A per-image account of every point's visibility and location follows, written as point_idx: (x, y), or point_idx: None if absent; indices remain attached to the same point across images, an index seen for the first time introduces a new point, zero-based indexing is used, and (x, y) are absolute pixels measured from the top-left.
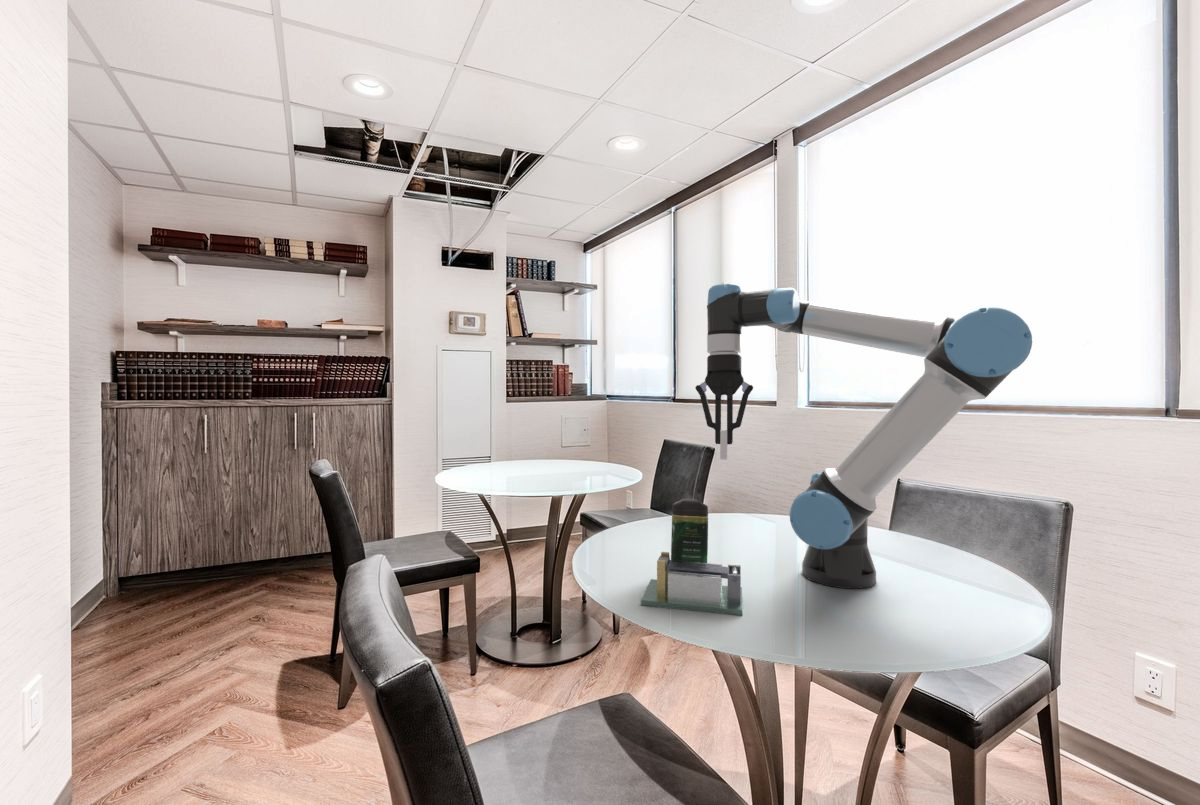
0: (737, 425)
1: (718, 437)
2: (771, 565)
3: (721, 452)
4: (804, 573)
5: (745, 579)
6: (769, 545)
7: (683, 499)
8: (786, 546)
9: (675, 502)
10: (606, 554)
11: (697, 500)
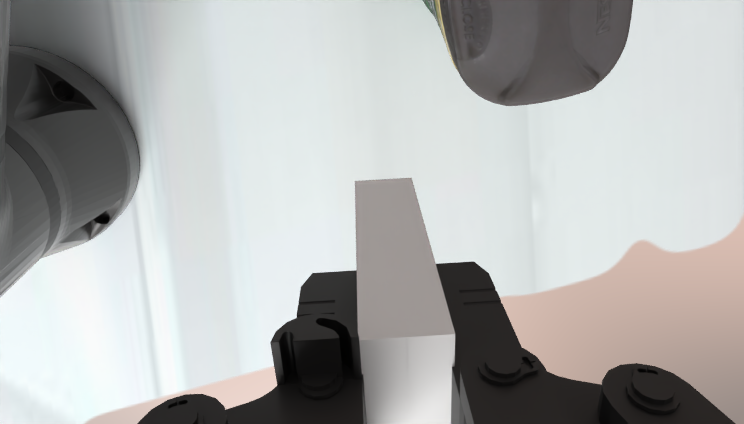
0: (189, 407)
1: (462, 303)
2: (233, 193)
3: (407, 202)
4: (125, 122)
5: (294, 38)
6: (258, 364)
7: (584, 49)
8: (211, 369)
9: (620, 35)
10: (740, 144)
11: (505, 97)
